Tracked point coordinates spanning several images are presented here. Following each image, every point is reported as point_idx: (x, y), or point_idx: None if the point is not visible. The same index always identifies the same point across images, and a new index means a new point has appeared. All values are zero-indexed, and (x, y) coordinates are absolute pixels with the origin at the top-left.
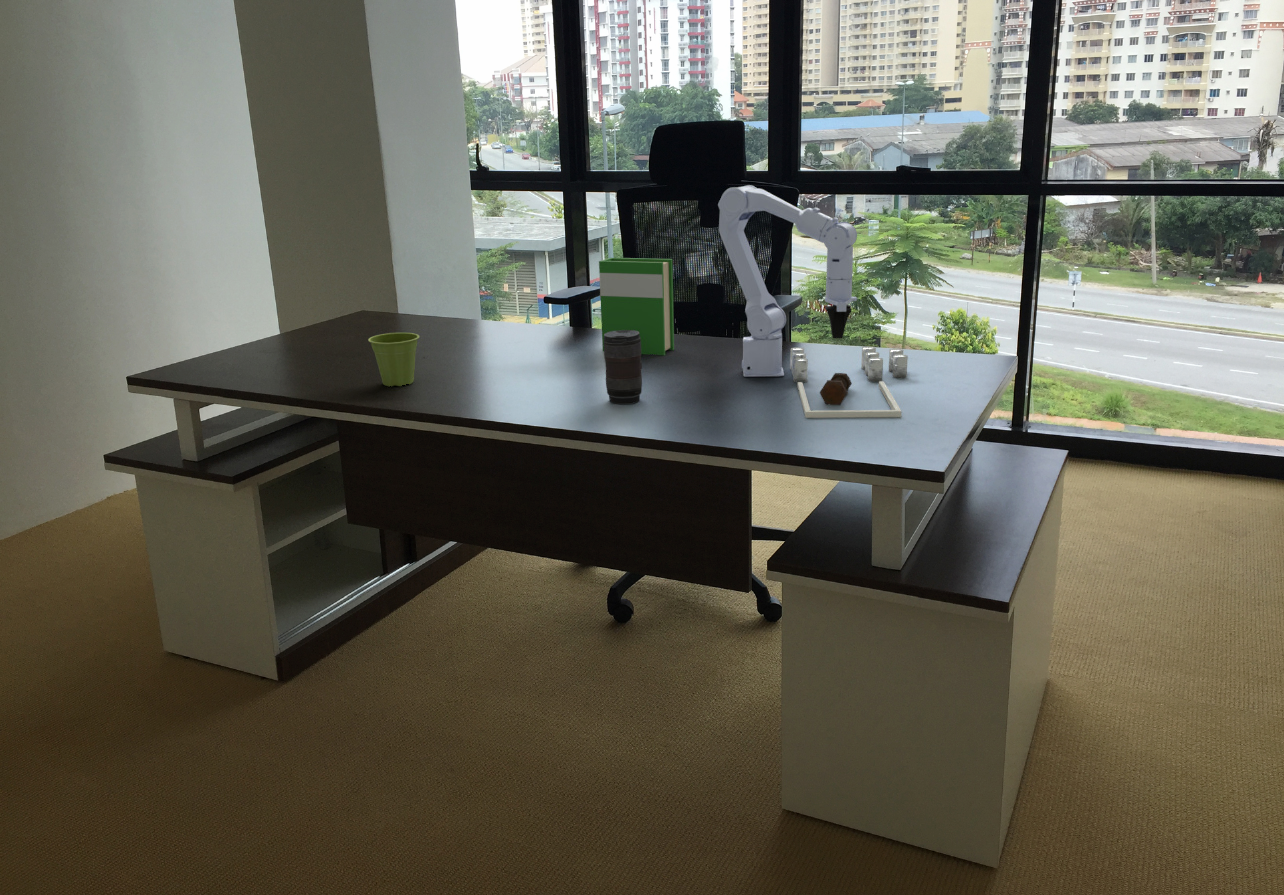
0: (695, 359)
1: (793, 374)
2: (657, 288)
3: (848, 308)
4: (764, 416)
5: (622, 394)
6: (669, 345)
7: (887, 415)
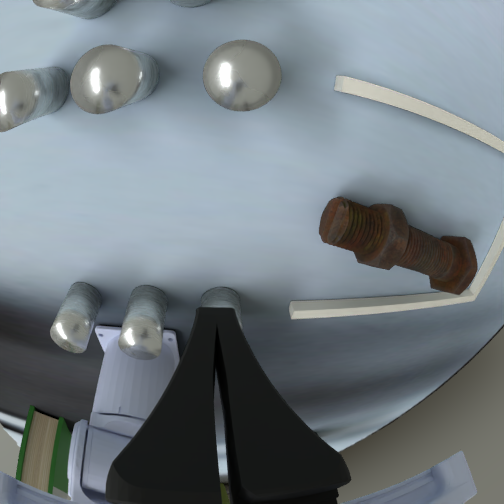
0: (70, 403)
1: None
2: None
3: (276, 496)
4: (435, 338)
5: None
6: (36, 415)
7: None
